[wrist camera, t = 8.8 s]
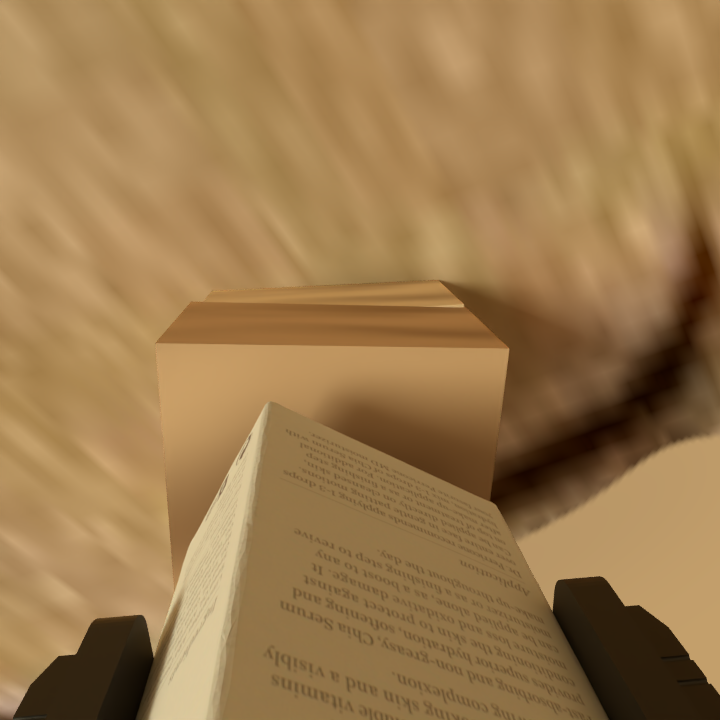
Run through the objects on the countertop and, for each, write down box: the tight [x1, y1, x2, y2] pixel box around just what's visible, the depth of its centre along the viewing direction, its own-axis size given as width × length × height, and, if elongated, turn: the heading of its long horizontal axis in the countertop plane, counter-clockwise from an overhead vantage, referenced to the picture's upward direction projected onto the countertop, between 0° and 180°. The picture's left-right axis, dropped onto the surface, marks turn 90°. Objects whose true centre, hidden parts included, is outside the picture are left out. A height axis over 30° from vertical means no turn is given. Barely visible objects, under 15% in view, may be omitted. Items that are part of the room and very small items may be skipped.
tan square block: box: [155, 302, 509, 592], centre depth 16 cm, size 8×8×4 cm
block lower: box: [204, 280, 464, 307], centre depth 20 cm, size 8×8×4 cm
